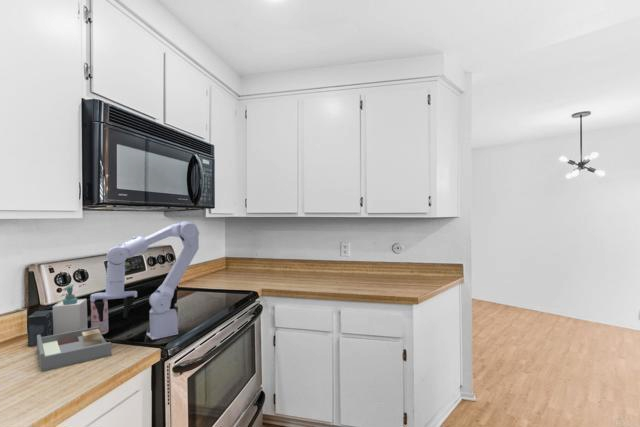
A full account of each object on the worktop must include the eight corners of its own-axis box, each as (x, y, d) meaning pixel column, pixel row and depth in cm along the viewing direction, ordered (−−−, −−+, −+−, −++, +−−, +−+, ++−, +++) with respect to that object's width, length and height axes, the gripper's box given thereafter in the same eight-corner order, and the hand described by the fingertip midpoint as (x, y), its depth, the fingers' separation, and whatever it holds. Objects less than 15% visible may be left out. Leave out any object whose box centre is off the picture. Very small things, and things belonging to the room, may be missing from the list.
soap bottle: (53, 341, 136) (51, 289, 135) (62, 333, 144) (60, 284, 144) (80, 339, 138) (78, 287, 138) (87, 331, 147) (86, 282, 146)
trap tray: (99, 337, 140) (99, 323, 140) (111, 354, 123) (111, 339, 123) (37, 349, 129) (36, 335, 128) (41, 371, 111) (40, 354, 111)
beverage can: (101, 335, 141) (99, 296, 141) (87, 335, 142) (86, 295, 142) (111, 330, 147) (110, 292, 147) (99, 330, 148) (98, 292, 148)
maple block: (98, 338, 133) (98, 328, 133) (101, 342, 129) (100, 332, 129) (81, 342, 129) (81, 332, 129) (84, 346, 126) (83, 335, 126)
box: (47, 344, 133) (46, 315, 133) (27, 347, 131) (26, 316, 131) (54, 337, 140) (53, 309, 140) (35, 339, 138) (35, 311, 138)
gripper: (133, 277, 141) (131, 314, 141) (89, 280, 131) (87, 319, 131) (139, 280, 136) (137, 318, 136) (94, 283, 126) (91, 324, 126)
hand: (113, 319), depth 133 cm, fingers open, 7 cm apart
